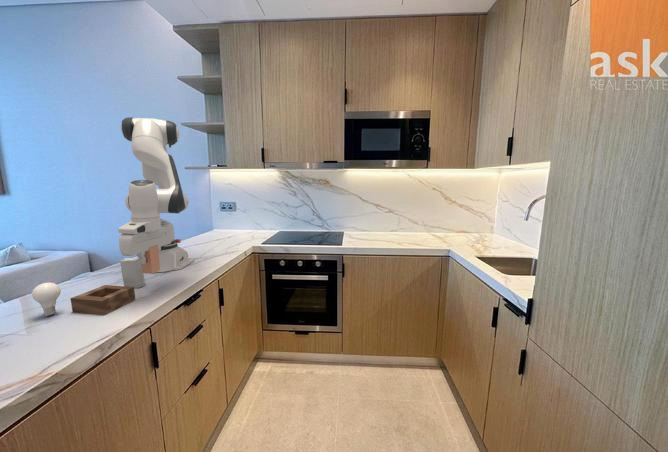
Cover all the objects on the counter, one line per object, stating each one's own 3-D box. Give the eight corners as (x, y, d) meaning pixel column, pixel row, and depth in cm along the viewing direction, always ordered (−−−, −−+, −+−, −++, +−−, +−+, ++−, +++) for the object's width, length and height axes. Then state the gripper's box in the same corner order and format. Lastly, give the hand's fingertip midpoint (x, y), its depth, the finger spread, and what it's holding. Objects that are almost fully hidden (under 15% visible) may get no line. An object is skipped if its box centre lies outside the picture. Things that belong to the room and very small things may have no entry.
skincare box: (145, 284, 115) (142, 257, 113) (139, 288, 111) (135, 260, 109) (130, 285, 114) (126, 257, 113) (122, 289, 110) (119, 260, 108)
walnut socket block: (107, 297, 102) (105, 284, 101) (135, 299, 100) (134, 286, 100) (72, 312, 90) (70, 298, 89) (104, 315, 89) (102, 300, 88)
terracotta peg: (150, 269, 105) (148, 244, 103) (160, 270, 104) (157, 244, 102) (142, 273, 101) (139, 246, 99) (151, 273, 100) (149, 247, 99)
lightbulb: (69, 310, 91) (64, 279, 90) (50, 320, 85) (45, 286, 83) (50, 310, 91) (44, 279, 89) (29, 320, 85) (23, 286, 83)
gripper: (160, 220, 110) (163, 253, 112) (113, 229, 90) (118, 269, 92) (174, 221, 109) (177, 254, 112) (130, 230, 89) (134, 270, 92)
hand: (150, 261), depth 102 cm, fingers closed on terracotta peg, 4 cm apart
